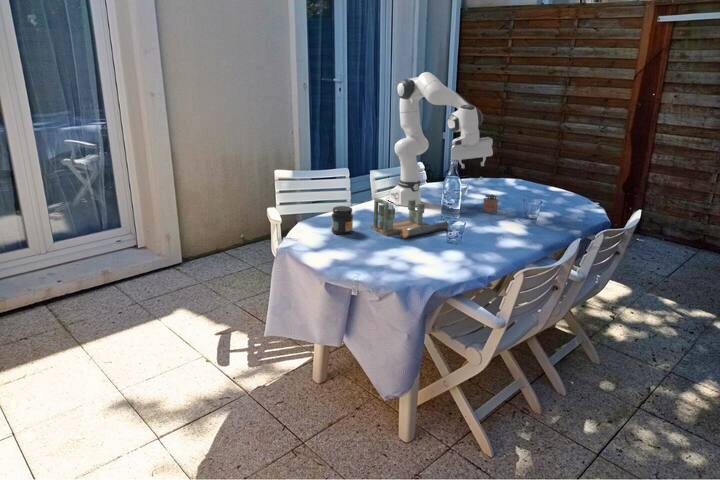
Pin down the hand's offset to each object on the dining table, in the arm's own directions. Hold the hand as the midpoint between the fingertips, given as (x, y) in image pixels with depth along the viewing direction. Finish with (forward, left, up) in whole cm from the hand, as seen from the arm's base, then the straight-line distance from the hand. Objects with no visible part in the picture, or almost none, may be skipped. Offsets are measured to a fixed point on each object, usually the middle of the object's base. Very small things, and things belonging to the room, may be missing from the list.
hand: (472, 167), depth 272 cm
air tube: (-5, -24, -32) cm, 40 cm away
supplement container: (-27, -58, -32) cm, 72 cm away
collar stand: (-17, -29, -32) cm, 47 cm away
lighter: (-15, +34, -32) cm, 49 cm away
